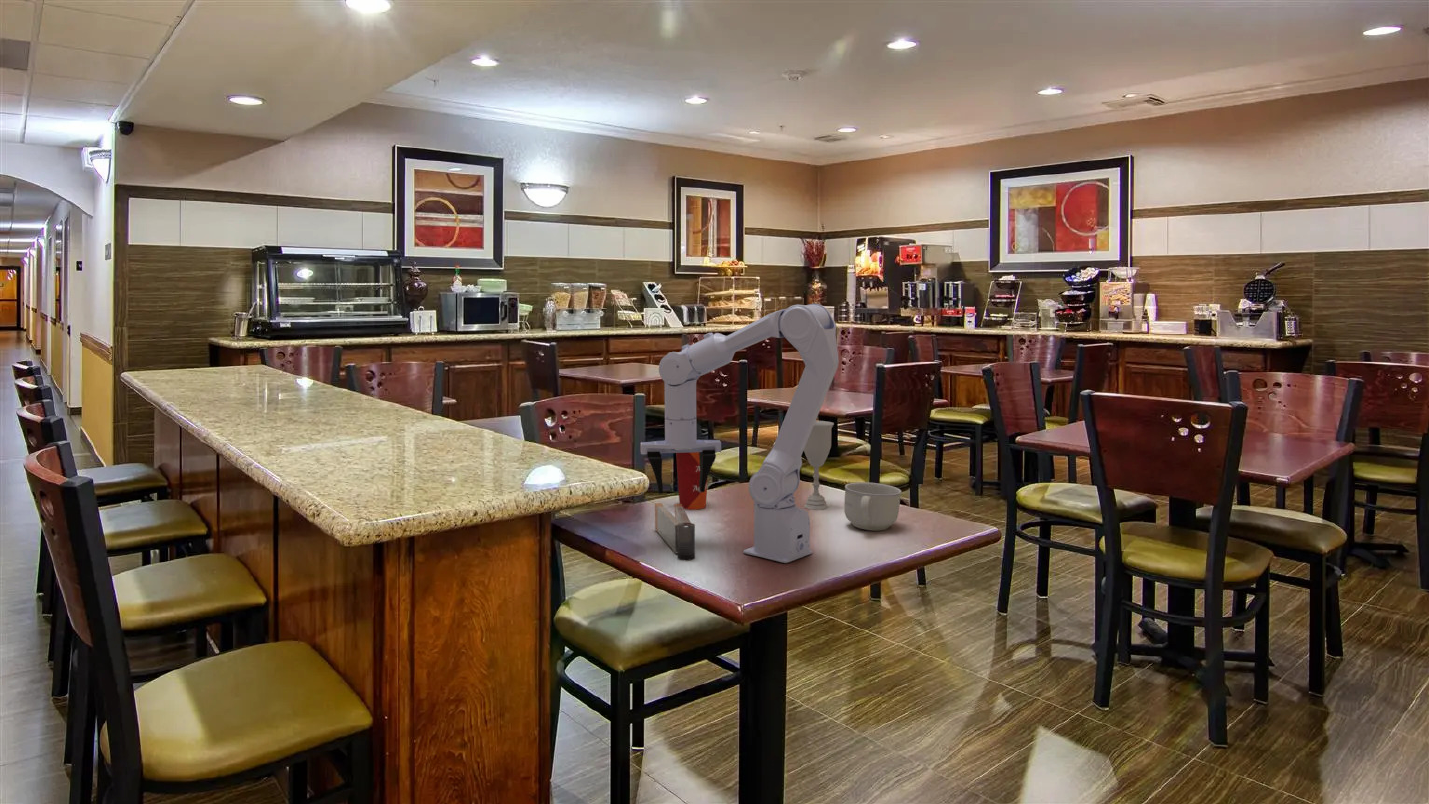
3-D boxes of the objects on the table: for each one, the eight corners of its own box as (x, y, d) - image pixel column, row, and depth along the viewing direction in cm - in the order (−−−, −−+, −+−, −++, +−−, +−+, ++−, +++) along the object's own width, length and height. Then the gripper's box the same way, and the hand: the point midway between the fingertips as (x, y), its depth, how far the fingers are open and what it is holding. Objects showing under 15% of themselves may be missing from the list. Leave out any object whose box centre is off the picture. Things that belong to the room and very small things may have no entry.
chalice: (792, 506, 194) (793, 422, 192) (813, 501, 199) (814, 419, 196) (818, 512, 189) (819, 426, 186) (839, 507, 193) (840, 423, 191)
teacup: (856, 517, 185) (857, 478, 184) (908, 524, 179) (909, 484, 178) (828, 533, 173) (829, 492, 172) (882, 541, 167) (883, 498, 166)
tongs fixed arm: (696, 559, 156) (695, 526, 155) (678, 560, 156) (678, 527, 155) (681, 528, 176) (681, 499, 175) (666, 529, 176) (666, 500, 175)
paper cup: (706, 511, 189) (706, 445, 188) (670, 510, 191) (670, 444, 189) (714, 503, 197) (714, 439, 195) (679, 501, 198) (679, 438, 197)
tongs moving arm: (682, 552, 159) (681, 524, 159) (675, 553, 159) (675, 525, 158) (661, 528, 175) (660, 503, 175) (655, 528, 175) (654, 503, 174)
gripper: (716, 414, 169) (716, 485, 171) (638, 416, 167) (639, 488, 169) (722, 419, 162) (723, 493, 164) (641, 421, 160) (642, 496, 162)
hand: (681, 491), depth 166 cm, fingers open, 7 cm apart
